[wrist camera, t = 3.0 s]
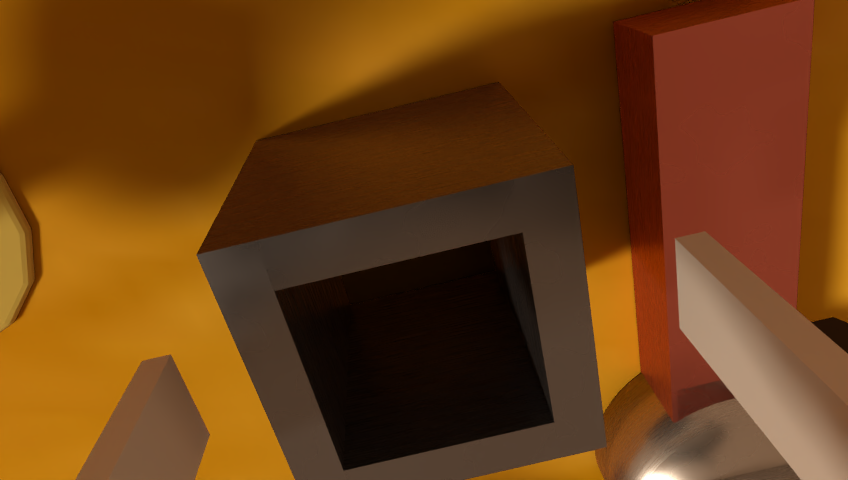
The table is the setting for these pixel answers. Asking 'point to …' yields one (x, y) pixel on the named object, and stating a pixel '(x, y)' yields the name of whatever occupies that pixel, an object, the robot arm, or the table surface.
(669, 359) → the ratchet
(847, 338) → the robot arm
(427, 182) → the socket
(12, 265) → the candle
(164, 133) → the table surface
